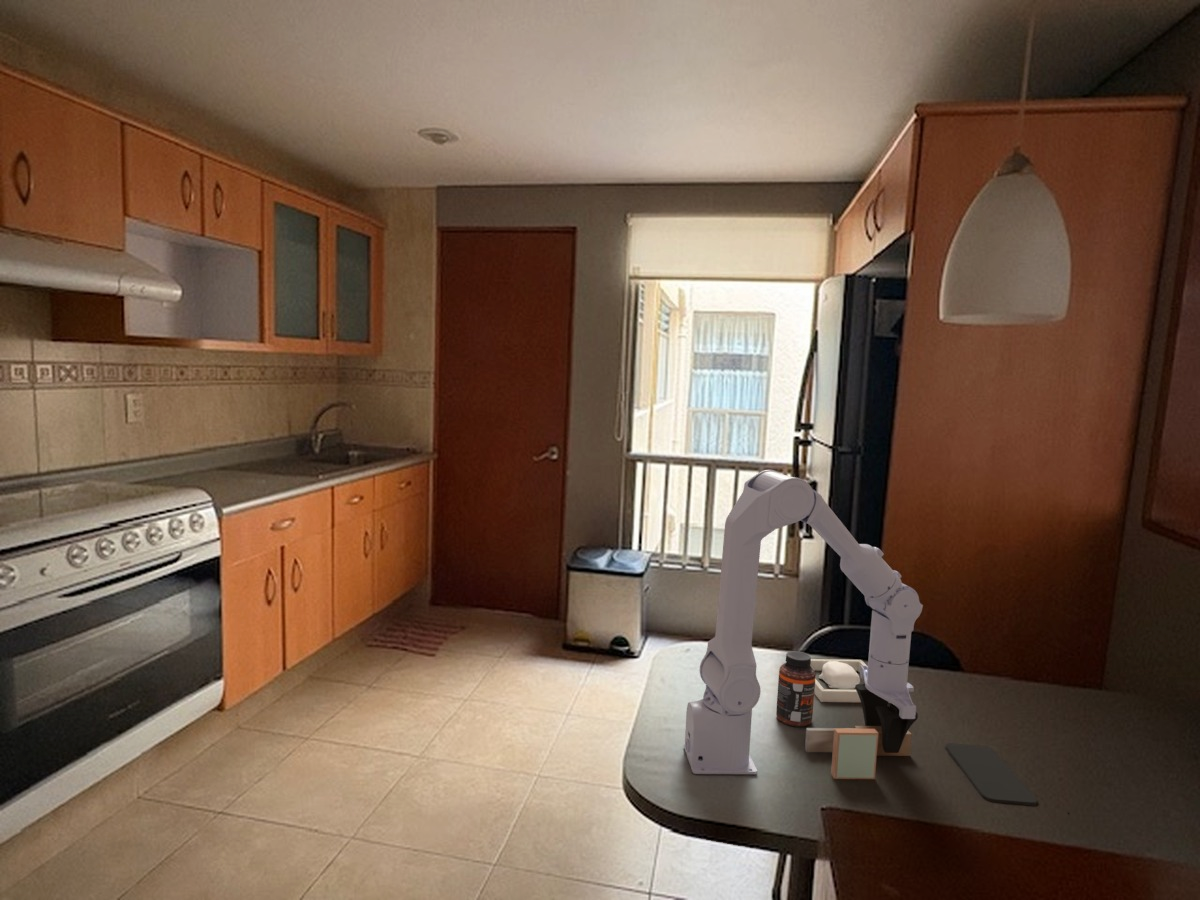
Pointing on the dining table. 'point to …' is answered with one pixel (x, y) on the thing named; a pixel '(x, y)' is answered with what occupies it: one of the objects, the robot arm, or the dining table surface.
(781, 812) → the dining table surface
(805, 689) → the supplement bottle
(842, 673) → the white rounded lump
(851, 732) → the tile
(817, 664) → the garlic dish rim
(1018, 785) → the phone
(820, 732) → the scraper
